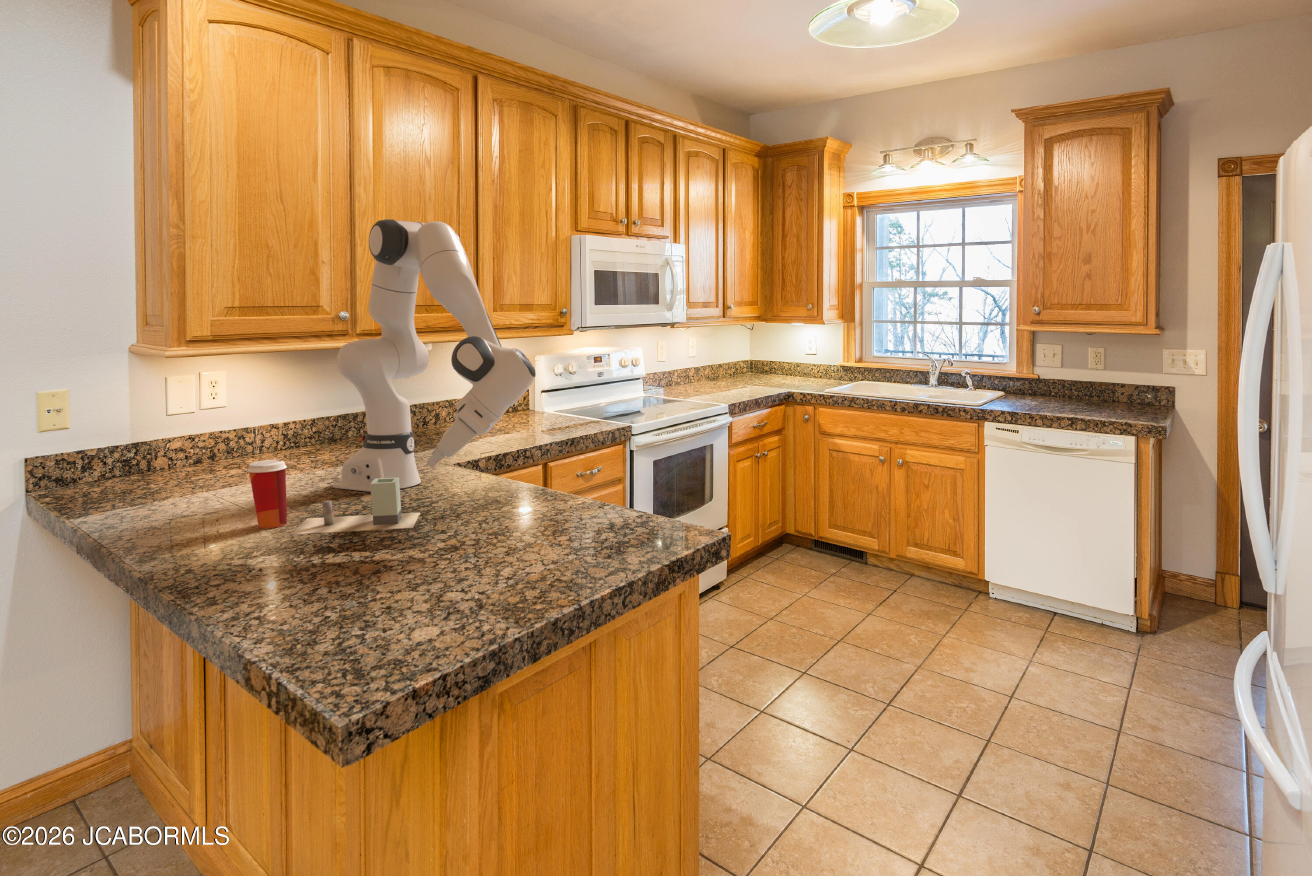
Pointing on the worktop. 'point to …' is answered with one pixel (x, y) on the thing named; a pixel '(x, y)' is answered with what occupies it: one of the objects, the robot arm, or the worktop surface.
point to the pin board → (349, 522)
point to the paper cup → (269, 492)
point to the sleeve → (386, 501)
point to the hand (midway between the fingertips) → (431, 460)
